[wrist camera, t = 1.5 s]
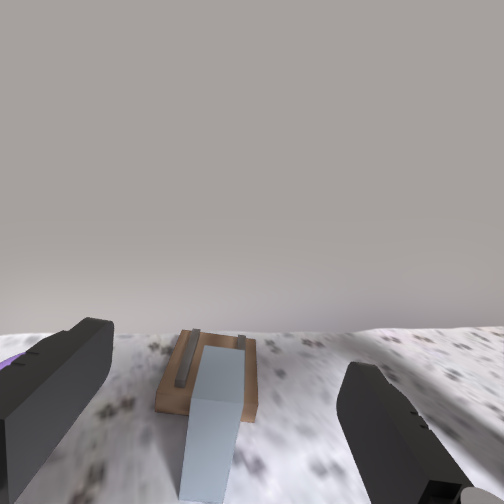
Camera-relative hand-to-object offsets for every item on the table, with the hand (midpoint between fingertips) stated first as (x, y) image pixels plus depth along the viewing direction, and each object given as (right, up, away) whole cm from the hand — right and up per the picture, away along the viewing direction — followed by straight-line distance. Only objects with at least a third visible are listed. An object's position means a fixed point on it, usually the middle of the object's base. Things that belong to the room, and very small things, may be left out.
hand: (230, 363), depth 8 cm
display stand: (-5, -14, +27) cm, 31 cm away
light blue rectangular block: (-4, -18, +17) cm, 25 cm away
